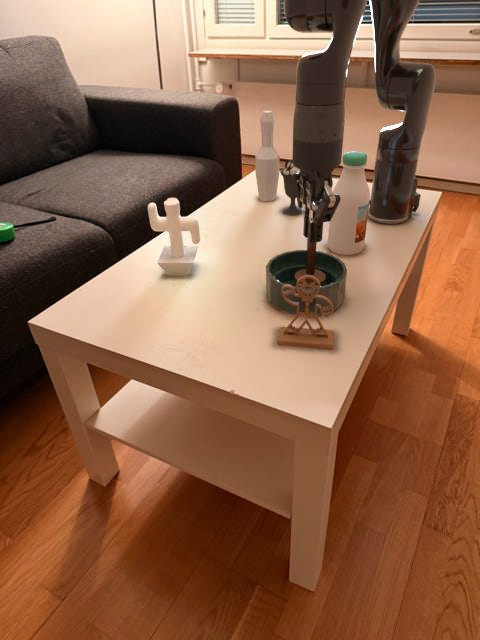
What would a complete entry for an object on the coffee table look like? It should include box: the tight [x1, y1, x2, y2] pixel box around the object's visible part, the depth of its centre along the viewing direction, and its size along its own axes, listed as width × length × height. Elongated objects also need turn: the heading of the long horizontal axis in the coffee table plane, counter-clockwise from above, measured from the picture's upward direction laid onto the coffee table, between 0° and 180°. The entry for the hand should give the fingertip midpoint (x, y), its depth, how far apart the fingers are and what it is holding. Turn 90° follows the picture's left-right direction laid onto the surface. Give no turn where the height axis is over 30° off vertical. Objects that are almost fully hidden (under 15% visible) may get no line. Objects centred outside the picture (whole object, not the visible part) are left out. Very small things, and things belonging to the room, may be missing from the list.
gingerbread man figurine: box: [276, 275, 335, 350], centre depth 72 cm, size 9×4×12 cm, turn 80°
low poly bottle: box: [254, 110, 281, 202], centre depth 120 cm, size 6×6×22 cm
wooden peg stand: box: [294, 211, 326, 288], centre depth 81 cm, size 6×6×15 cm
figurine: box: [147, 197, 201, 276], centre depth 91 cm, size 7×9×15 cm
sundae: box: [279, 159, 302, 216], centre depth 114 cm, size 7×7×15 cm
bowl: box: [265, 249, 348, 316], centre depth 84 cm, size 14×14×6 cm
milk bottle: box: [327, 150, 371, 256], centre depth 95 cm, size 8×8×20 cm
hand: (312, 238), depth 80 cm, fingers closed on wooden peg stand
